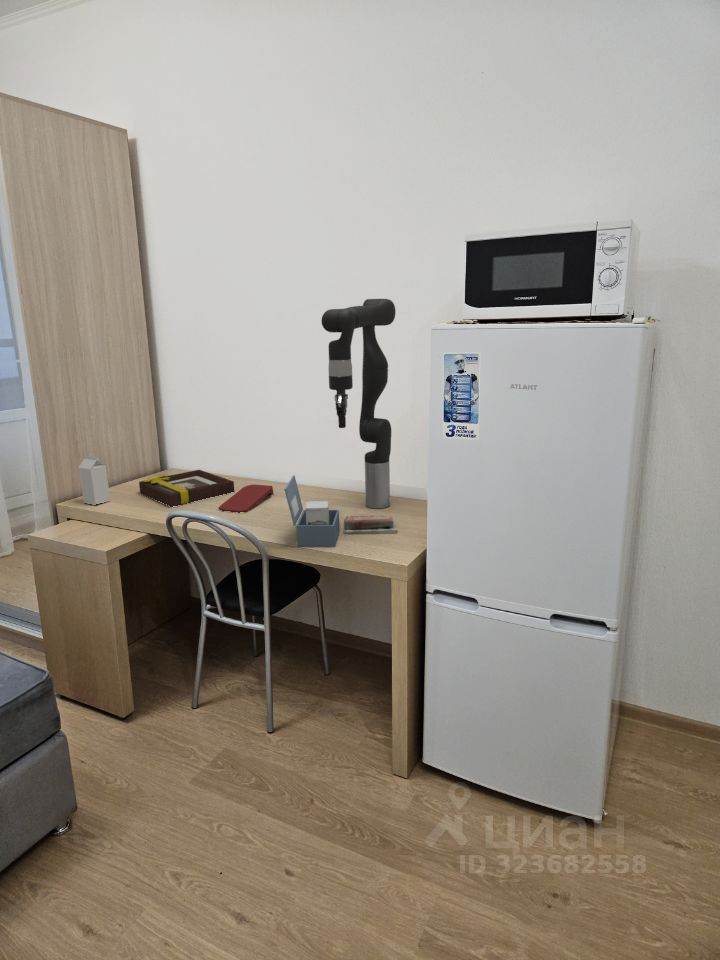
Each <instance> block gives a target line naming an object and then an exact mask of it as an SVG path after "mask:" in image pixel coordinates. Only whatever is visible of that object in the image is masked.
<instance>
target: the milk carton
mask: <svg viewBox="0 0 720 960" xmlns="http://www.w3.org/2000/svg"><path fill="white" fill-rule="evenodd" d="M78 473H79V479H80V480H79V481H80V486H81V493H82V500H83V501H82V502H83V504H84V503H89V504H94V505H96V504H99V503H102V502H106V501H109V502H111V495H110V487H109V482H108V474H107V466H106V464H105V463H103V462H102V461H100V459H99V458H98V457H97V456H94V455H93V456H91V455H84V458H83V460H82V461H81V463H80V465H79V466H78ZM106 503H107V502H106ZM94 505H93V506H94Z"/></svg>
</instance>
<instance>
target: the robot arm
mask: <svg viewBox="0 0 720 960" xmlns="http://www.w3.org/2000/svg"><path fill="white" fill-rule="evenodd" d="M395 319H396V306H395V303H394V302H393V301H392V299H388V298H367V299H365V300H364V302H363V303H362V305H355V306H349V307H347V308H346V307H345V308H331V309H327V310H326V311H325V312H324V313H323V314H322V316H321V320H320V321H321V326H322V328H323V329H324V330H325V331H326V332H328V333H340V336H339V338H338V339H334V340H331V341H330V342H328V385H329V386H328V387H329V390H332V391H336V394H335V395H334V401H335V410H336V415H337V419H338V428H339V429H345V428H346V427H347V425H346V423H347V422H346V421H347V420H346V415H347V412H348V409H347V408H348V398H349V396H348V395H349V394H348V393H347V394H346V391H348V390H349V391H350V390H351V389H353V387H354V385H353V364H352V349H351V348H352V347H351V346H352V341H353V338H354V337H353V336H354V332H355V330H356V329H361V328H362V348H363V349H362V367H361V368H362V371H361V372H362V373H361V375H362V377H361V378H362V379H361V381H362V383H361V384H362V387H361V388H362V391H361V392H362V393H361V406H360V416H359V428H358V429H359V431H358V432H359V433H358V434H359V437H360V439H361V441H362V442H365V443H369V444H375V448H374V450H371V451H367V452H365V454H364V484H365V486H364V488H365V493H364V494H365V496H364V497H365V507H367V508H369V509H375V510H376V509H377V510H378V509H386V508H388V507H389V506H391V487H390V486H391V483H390V482H391V478H390V477H391V476H390V475H391V474H390V470H391V469H390V455H391V452H392V425H391V422H390V421H389V420H388V419H386V418H379V417H375V409H376V405H377V402H378V400H379V399H380V397H381V395H382V394H383V391H384V390H385V389H386V386H387V385H388V381H389V380H388V378H389V375H388V374H389V363H388V359H387V357H386V356H385V353H384V352H383V350H382V348H381V347H380V344H379V342H378V340H377V336H376V331H375V330H376V326H379V327H380V326H381V327H382V326H383V327H384V326H389V325H390V326H391V324H392V323H393V322H394V321H395Z"/></svg>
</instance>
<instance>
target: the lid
mask: <svg viewBox="0 0 720 960" xmlns="http://www.w3.org/2000/svg"><path fill="white" fill-rule="evenodd" d="M296 479H297V478H296V475H292V476H291V478H290V480H289V482H288V483H286V486H285V487H284V488H283V489H284V493H285V497H286V500H287V501H286V502H287V505H288V508H289V509H288V510H289V513H290V517H291V519H292V524H293V527H294V526H295V527H296V525H297V523H298V521H299V519H300V517H301V514H302V512H303V510H304V507H303V503H302V500H301V499H302V498H301V496H300V495H301V494H300V491H299V488H298V484H297V483H298V482H297V480H296Z"/></svg>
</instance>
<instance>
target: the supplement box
mask: <svg viewBox="0 0 720 960" xmlns="http://www.w3.org/2000/svg"><path fill="white" fill-rule="evenodd" d="M329 503H330V501H329V500H323V501H322V500H317V501H315V500H314V501H312V500H311V501H306V503H305V510H306V525H329V510H330V506H329V505H330V504H329Z"/></svg>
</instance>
